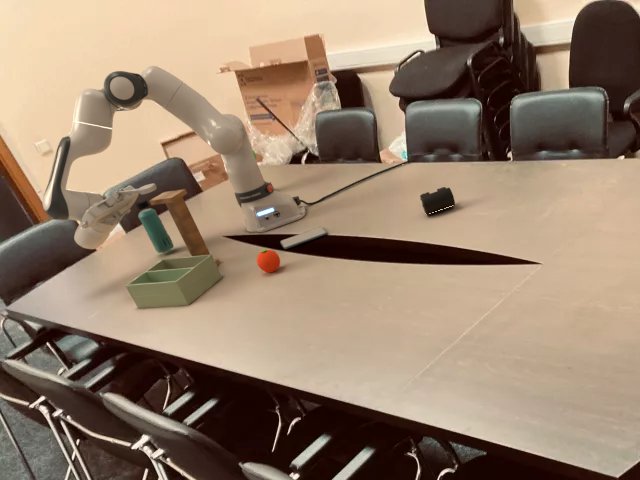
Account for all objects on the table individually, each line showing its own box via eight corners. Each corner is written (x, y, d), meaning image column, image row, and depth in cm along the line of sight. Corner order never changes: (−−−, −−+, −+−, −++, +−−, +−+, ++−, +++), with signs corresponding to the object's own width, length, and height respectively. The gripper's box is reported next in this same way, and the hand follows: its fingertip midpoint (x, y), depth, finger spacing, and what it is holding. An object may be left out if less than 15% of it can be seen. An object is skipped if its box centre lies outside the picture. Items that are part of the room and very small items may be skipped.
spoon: (110, 198, 221) (108, 194, 220) (122, 192, 225) (120, 188, 224) (149, 193, 215) (147, 189, 214) (160, 186, 219) (158, 182, 218)
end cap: (428, 219, 231) (422, 199, 227) (423, 213, 237) (417, 193, 233) (457, 209, 232) (451, 189, 229) (451, 203, 238) (446, 184, 234)
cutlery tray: (138, 308, 223) (125, 285, 218) (174, 280, 236) (162, 258, 232) (188, 305, 215) (176, 281, 211) (222, 276, 229) (211, 254, 225)
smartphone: (327, 232, 239) (283, 247, 235) (328, 235, 240) (285, 250, 236) (321, 226, 246) (279, 241, 242) (322, 228, 246) (280, 243, 243)
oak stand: (186, 274, 238) (149, 200, 224) (199, 264, 244) (163, 192, 230) (208, 272, 235) (171, 197, 221) (220, 262, 241) (185, 189, 227)
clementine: (260, 270, 226) (251, 249, 222) (281, 262, 228) (273, 242, 224) (263, 278, 220) (253, 257, 216) (285, 270, 221) (276, 249, 217)
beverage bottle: (170, 255, 259) (143, 203, 248) (155, 257, 261) (127, 206, 250) (179, 247, 264) (153, 196, 254) (165, 250, 266) (138, 199, 255)
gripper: (71, 222, 221) (87, 197, 213) (117, 196, 236) (134, 171, 228) (88, 237, 222) (105, 213, 214) (132, 210, 238) (150, 187, 230)
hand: (120, 191), depth 221 cm, fingers closed on spoon, 1 cm apart
